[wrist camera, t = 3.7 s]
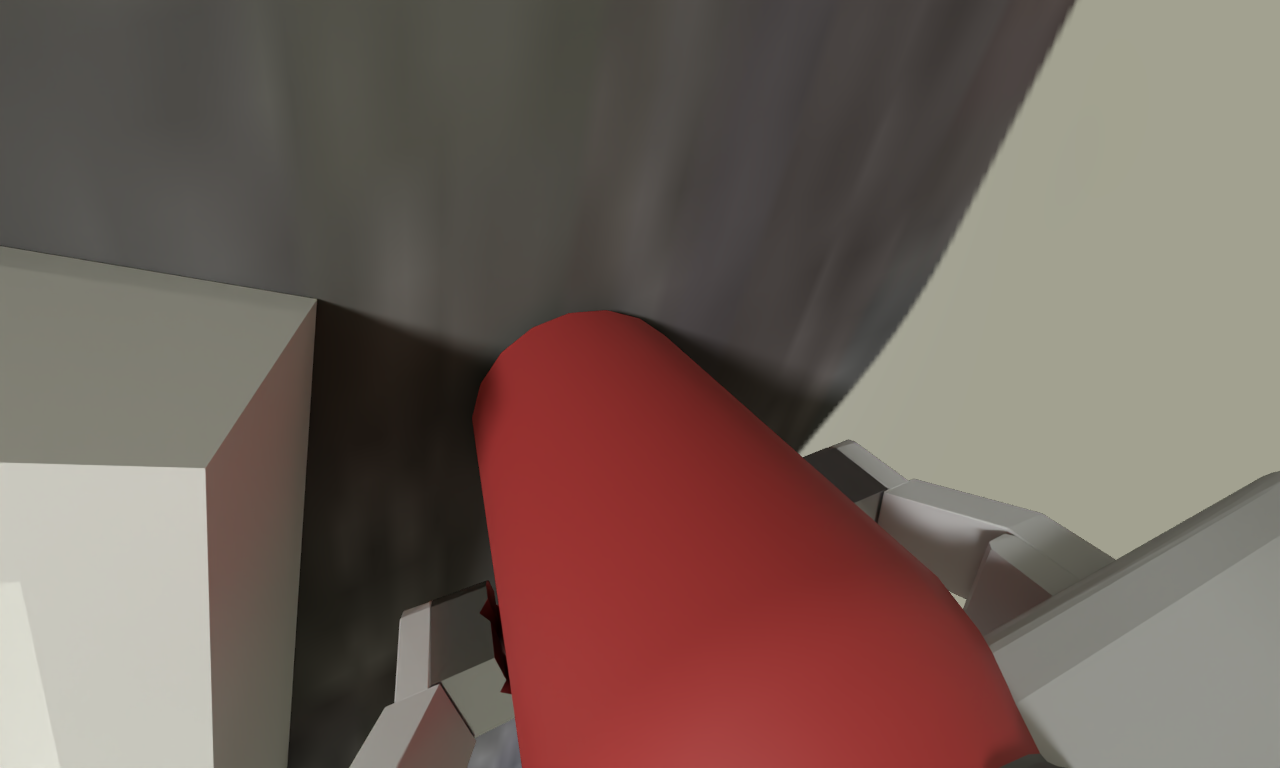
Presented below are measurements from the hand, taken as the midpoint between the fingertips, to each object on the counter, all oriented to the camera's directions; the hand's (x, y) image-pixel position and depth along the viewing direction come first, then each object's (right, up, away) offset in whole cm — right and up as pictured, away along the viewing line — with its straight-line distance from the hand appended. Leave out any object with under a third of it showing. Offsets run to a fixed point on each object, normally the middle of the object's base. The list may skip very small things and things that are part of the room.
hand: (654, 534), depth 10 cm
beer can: (-2, +3, +5) cm, 6 cm away
